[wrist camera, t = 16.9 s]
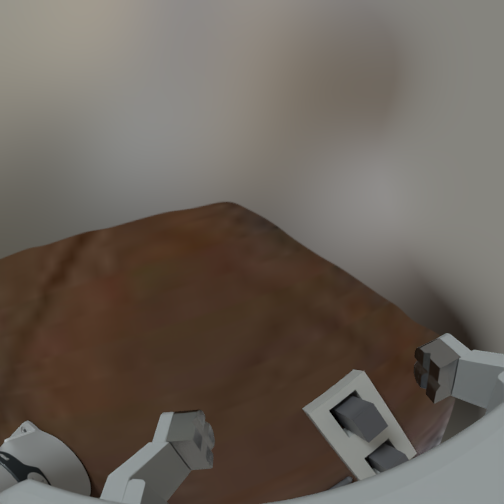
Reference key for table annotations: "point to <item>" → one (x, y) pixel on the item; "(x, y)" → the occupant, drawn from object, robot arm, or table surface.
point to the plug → (359, 417)
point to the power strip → (349, 444)
